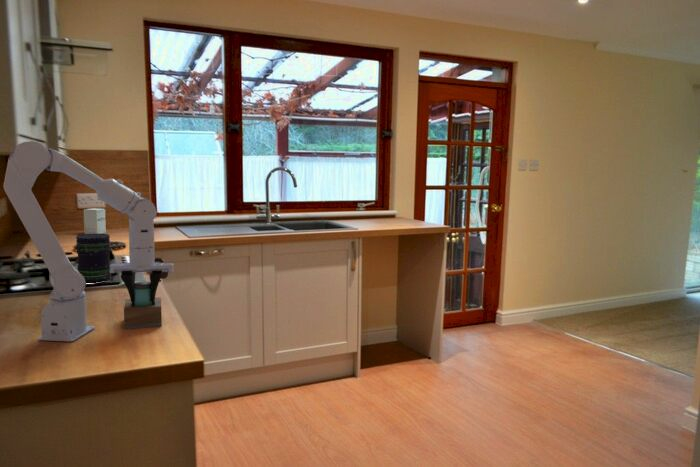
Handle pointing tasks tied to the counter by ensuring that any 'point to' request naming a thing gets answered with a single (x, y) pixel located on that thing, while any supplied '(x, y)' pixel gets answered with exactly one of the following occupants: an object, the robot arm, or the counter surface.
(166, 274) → the dark dumbbell
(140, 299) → the peg
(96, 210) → the supplement box
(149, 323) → the socket
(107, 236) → the storage jar
